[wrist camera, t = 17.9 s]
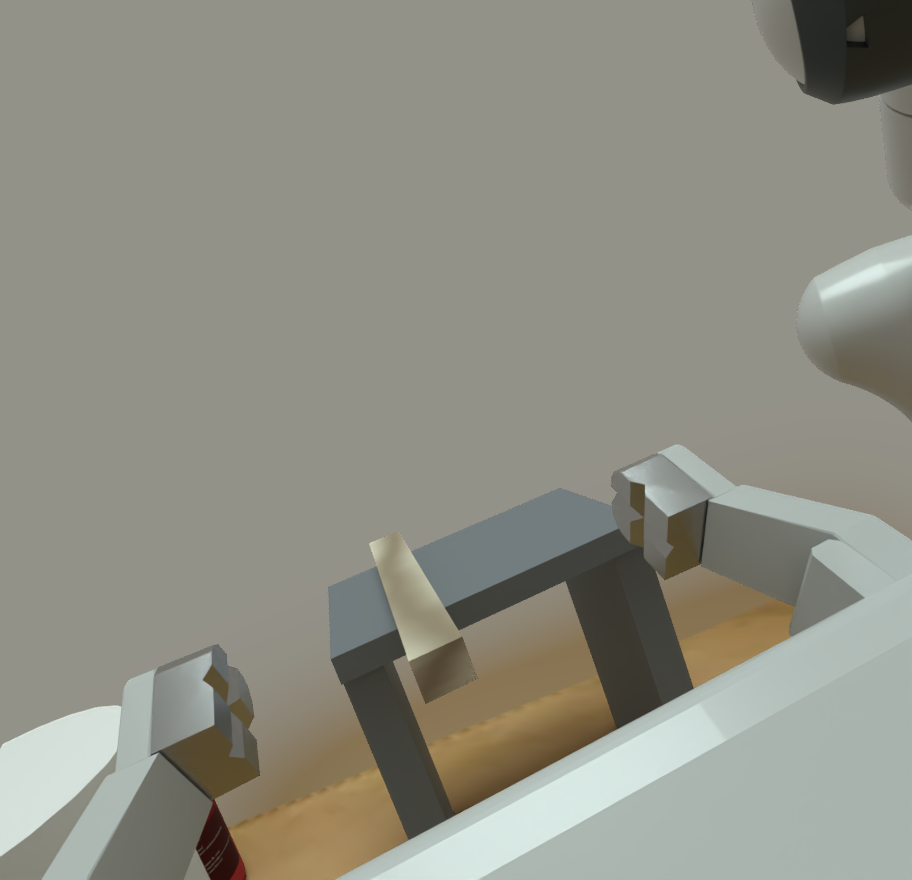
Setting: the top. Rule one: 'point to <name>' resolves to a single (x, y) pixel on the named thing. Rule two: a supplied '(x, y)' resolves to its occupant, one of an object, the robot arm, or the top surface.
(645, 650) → the grey step stool
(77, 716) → the white stepped pillar
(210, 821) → the canned food
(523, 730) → the top surface
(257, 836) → the top surface
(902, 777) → the robot arm
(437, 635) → the bar
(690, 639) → the top surface
